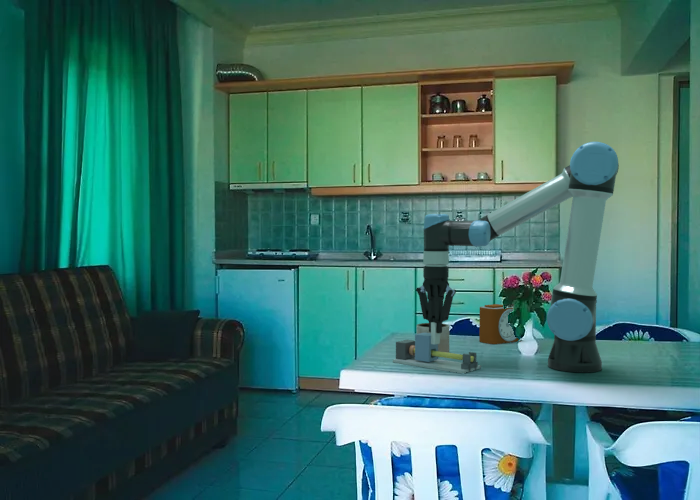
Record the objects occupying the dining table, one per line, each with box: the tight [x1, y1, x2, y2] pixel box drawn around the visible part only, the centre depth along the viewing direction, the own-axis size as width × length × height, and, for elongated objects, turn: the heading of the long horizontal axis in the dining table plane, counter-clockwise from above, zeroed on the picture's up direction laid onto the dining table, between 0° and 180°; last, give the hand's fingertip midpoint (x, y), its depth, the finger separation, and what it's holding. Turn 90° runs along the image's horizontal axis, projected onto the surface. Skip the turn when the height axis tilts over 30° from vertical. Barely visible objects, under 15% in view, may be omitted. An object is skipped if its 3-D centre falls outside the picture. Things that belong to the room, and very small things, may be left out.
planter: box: [416, 322, 450, 353], centre depth 217 cm, size 11×11×10 cm
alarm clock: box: [478, 303, 519, 345], centre depth 241 cm, size 15×8×14 cm, turn 123°
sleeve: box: [414, 333, 439, 362], centre depth 200 cm, size 5×5×8 cm
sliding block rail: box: [392, 339, 482, 374], centre depth 198 cm, size 25×10×6 cm, turn 50°
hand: (435, 343), depth 198 cm, fingers closed
